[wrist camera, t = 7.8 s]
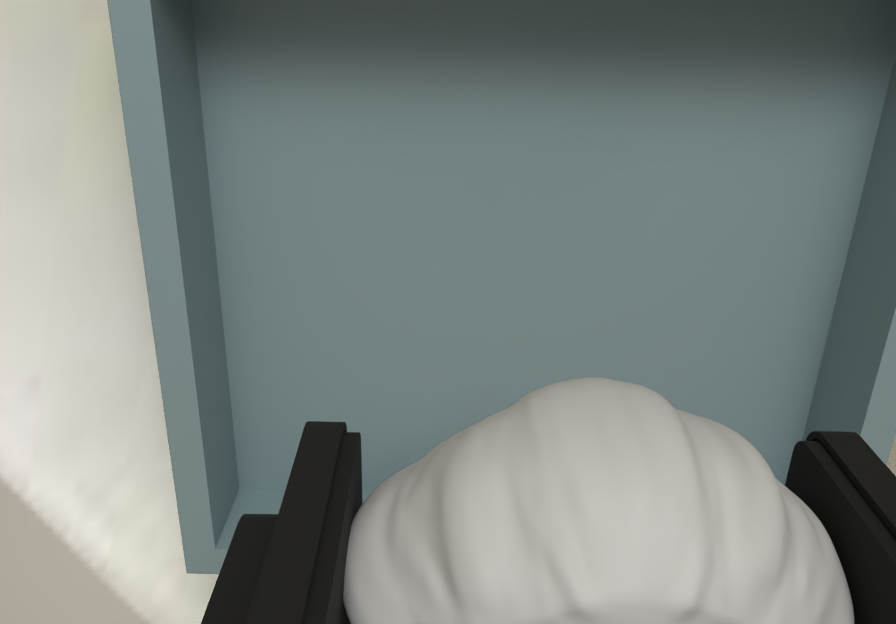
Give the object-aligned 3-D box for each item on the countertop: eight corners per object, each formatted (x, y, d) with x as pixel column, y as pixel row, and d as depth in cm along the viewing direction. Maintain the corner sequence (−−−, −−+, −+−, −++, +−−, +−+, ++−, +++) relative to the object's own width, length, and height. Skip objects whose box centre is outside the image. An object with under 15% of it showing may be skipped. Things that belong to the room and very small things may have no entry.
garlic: (371, 624, 13) (331, 1004, 8) (352, 325, 11) (282, 608, 6) (737, 619, 13) (904, 996, 8) (790, 319, 11) (1059, 599, 6)
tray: (933, -51, 18) (1039, -52, 14) (796, 504, 24) (849, 589, 21) (161, -72, 18) (96, -79, 14) (222, 489, 24) (186, 573, 20)
